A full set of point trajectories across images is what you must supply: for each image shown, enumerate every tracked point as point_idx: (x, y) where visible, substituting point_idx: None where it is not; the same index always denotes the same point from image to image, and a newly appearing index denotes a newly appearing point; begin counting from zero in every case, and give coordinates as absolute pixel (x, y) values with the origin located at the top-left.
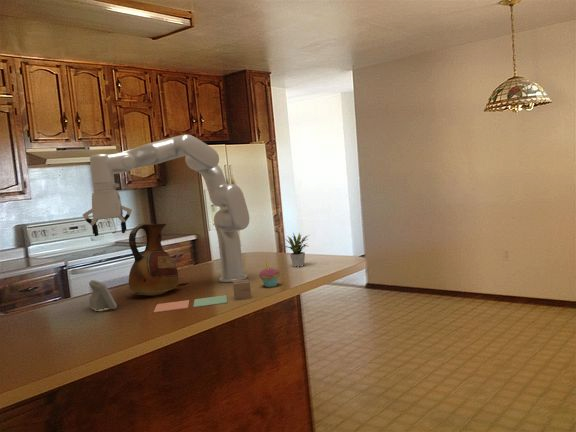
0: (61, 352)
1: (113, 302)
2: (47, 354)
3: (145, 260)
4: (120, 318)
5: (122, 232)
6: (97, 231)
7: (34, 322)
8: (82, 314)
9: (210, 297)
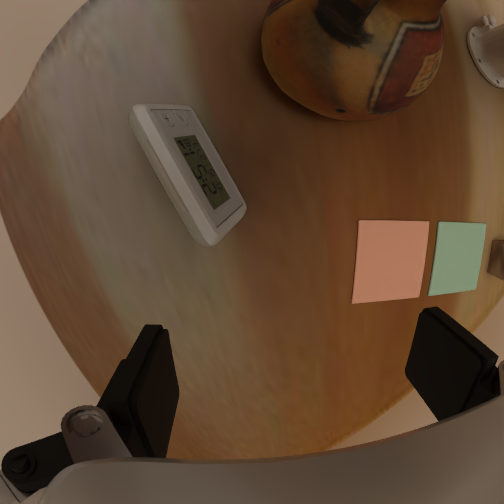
0: (215, 452)
1: (239, 220)
2: (197, 451)
3: (374, 59)
4: (275, 317)
5: (409, 376)
6: (162, 374)
7: (55, 243)
8: (149, 217)
9: (464, 226)
